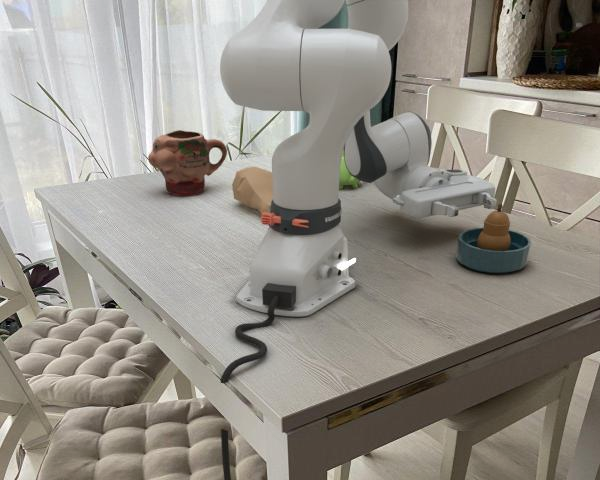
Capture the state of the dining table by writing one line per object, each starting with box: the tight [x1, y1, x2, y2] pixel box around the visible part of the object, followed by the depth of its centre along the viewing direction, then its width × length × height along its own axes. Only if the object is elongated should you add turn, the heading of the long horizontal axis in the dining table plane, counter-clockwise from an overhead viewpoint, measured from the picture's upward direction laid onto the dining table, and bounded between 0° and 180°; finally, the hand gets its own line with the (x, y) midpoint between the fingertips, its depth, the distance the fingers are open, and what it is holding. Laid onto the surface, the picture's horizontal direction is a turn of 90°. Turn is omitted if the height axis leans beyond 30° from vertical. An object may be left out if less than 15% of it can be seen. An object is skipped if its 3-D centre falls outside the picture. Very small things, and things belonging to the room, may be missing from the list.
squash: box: [231, 166, 273, 216], centre depth 142 cm, size 11×20×9 cm, turn 25°
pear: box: [477, 202, 511, 251], centre depth 113 cm, size 6×6×10 cm
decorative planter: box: [147, 129, 228, 197], centre depth 155 cm, size 20×12×14 cm, turn 115°
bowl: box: [455, 227, 532, 274], centre depth 115 cm, size 13×13×4 cm
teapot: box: [339, 150, 361, 190], centre depth 159 cm, size 11×12×8 cm
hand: (474, 208), depth 116 cm, fingers open, 8 cm apart
